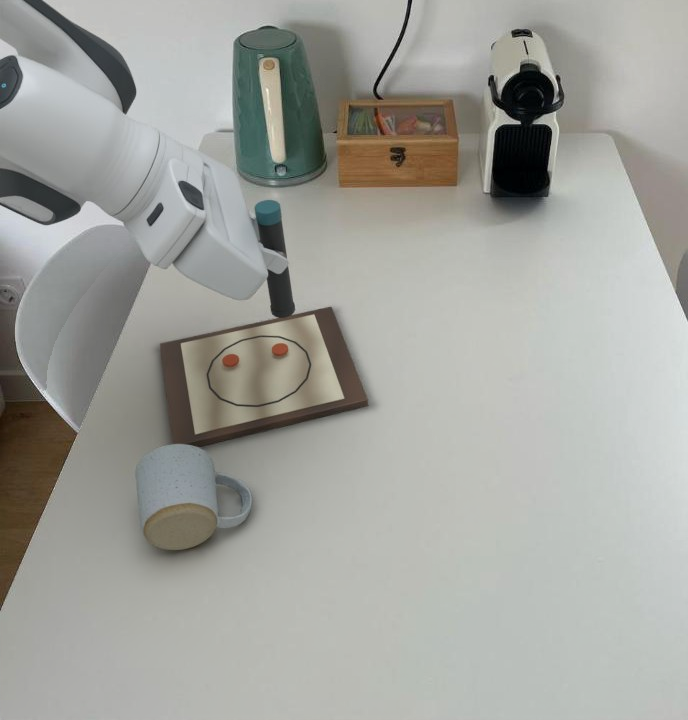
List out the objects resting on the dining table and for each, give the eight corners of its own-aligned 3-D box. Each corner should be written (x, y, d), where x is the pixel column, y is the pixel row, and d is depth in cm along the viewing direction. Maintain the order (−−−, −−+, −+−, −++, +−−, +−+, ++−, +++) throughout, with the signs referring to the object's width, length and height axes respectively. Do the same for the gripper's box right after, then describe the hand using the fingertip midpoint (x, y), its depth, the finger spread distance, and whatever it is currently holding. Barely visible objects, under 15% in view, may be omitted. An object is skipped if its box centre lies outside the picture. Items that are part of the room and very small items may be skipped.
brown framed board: (175, 452, 89) (172, 445, 88) (161, 349, 102) (159, 342, 101) (368, 405, 93) (367, 398, 92) (332, 312, 106) (331, 305, 105)
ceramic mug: (151, 564, 78) (131, 515, 73) (145, 499, 84) (127, 450, 79) (259, 536, 81) (248, 487, 75) (247, 475, 86) (235, 425, 81)
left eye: (223, 368, 96) (223, 366, 96) (221, 357, 98) (221, 356, 97) (240, 364, 97) (240, 362, 96) (238, 354, 98) (237, 352, 98)
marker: (273, 320, 86) (256, 215, 78) (269, 305, 88) (251, 202, 79) (297, 315, 87) (282, 210, 78) (292, 301, 89) (277, 197, 80)
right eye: (273, 357, 97) (273, 355, 97) (270, 346, 99) (270, 345, 99) (289, 353, 98) (289, 351, 98) (286, 343, 99) (286, 341, 99)
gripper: (135, 161, 83) (246, 224, 91) (150, 274, 68) (280, 337, 77) (170, 113, 81) (279, 182, 89) (192, 219, 66) (321, 290, 75)
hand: (280, 255), depth 83 cm, fingers closed on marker, 2 cm apart
